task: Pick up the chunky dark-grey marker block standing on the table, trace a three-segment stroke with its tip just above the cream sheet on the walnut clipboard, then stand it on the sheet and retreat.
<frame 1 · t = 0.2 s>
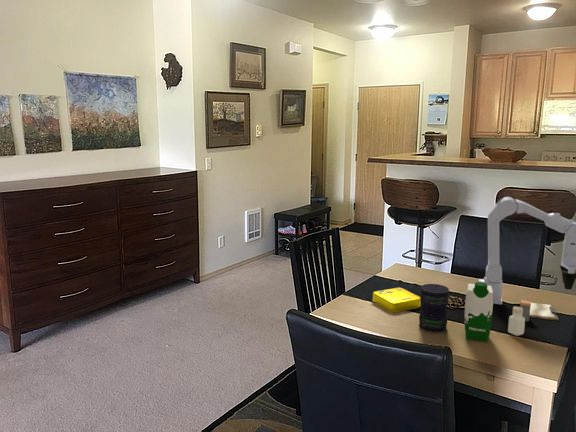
hand: (567, 286, 188), 10 cm above the table, fingers open, 7 cm apart
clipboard: (538, 311, 189), on the table
milk carton: (476, 337, 166), on the table
salt shaker: (515, 333, 169), on the table
storage jar: (432, 327, 174), on the table
marker: (524, 319, 181), on the table
element tile: (396, 305, 197), on the table
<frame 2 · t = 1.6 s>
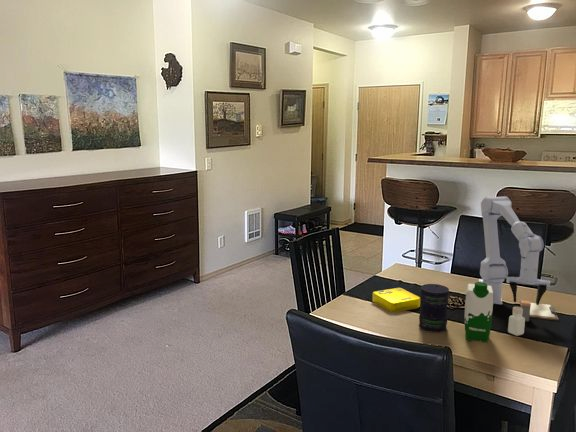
hand: (525, 302, 180), 7 cm above the table, fingers open, 7 cm apart
nothing on the table moved.
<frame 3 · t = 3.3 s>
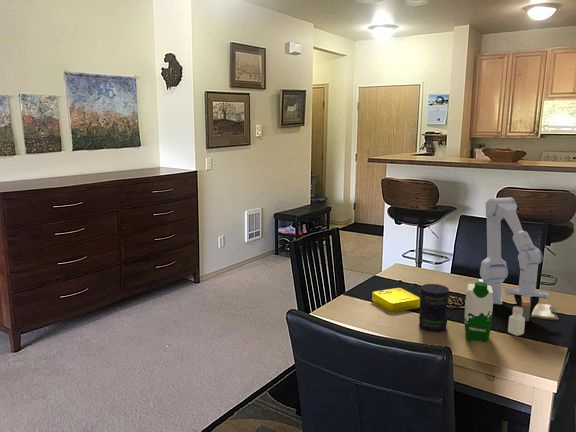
hand: (524, 314, 181), 2 cm above the table, fingers closed on marker, 3 cm apart
marker: (524, 319, 181), on the table, touching gripper
everything else where it was.
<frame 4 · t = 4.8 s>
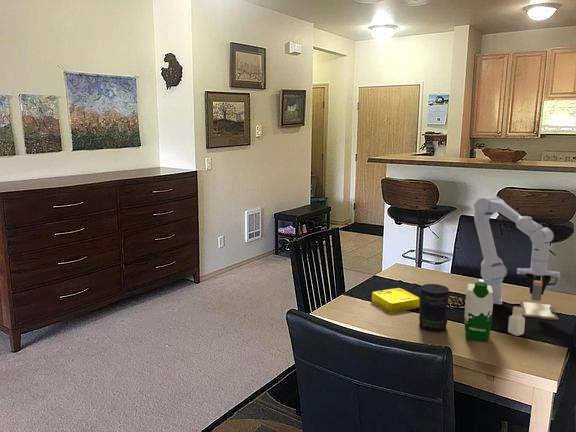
hand: (536, 293, 184), 9 cm above the table, fingers closed on marker, 3 cm apart
marker: (535, 299, 184), point 7 cm above the table, touching gripper
everything else where it was.
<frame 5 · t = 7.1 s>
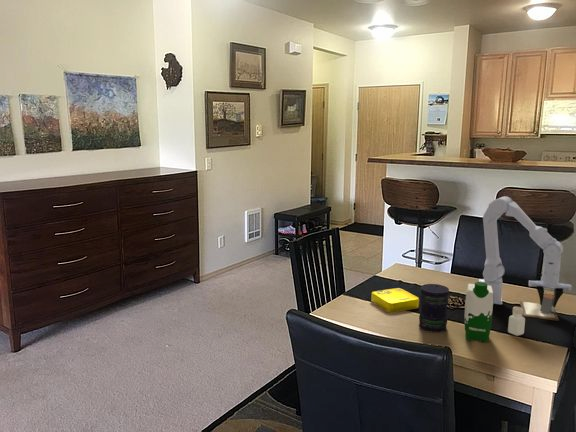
hand: (547, 305, 187), 3 cm above the table, fingers closed on marker, 4 cm apart
marker: (545, 311, 186), point 1 cm above the table, tilted 7°, touching gripper
everything else where it was.
when the fingers open (3 cm above the table, at t = 9.1 s): marker stays where it is, resting on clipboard.
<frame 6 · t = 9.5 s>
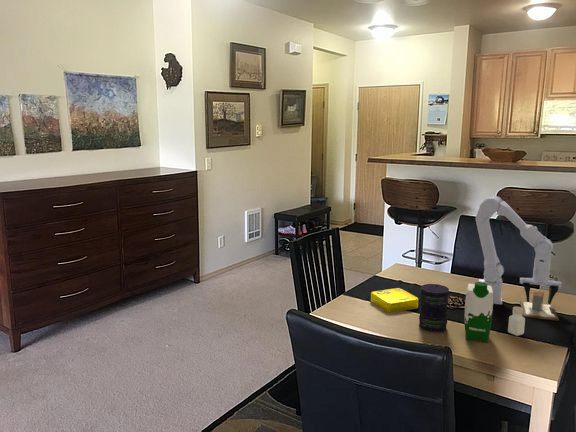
hand: (538, 302, 190), 3 cm above the table, fingers open, 7 cm apart
marker: (536, 309, 189), point 1 cm above the table, touching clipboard
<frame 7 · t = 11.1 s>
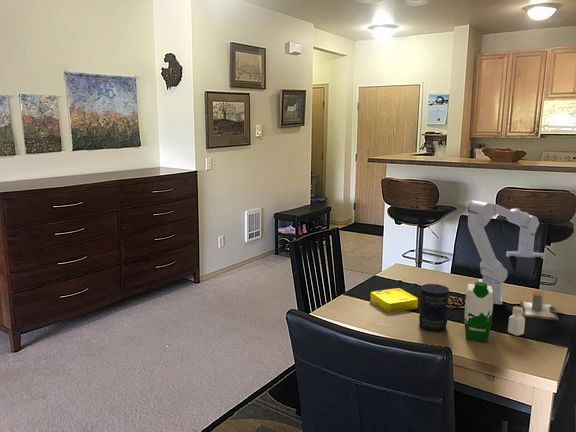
hand: (523, 273, 203), 10 cm above the table, fingers open, 7 cm apart
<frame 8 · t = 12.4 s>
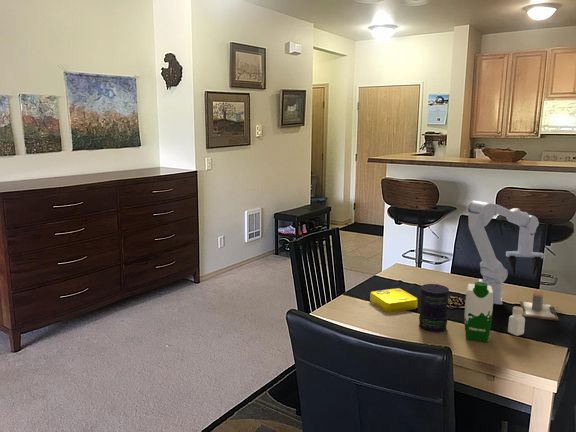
hand: (522, 273, 204), 10 cm above the table, fingers open, 7 cm apart
at the end: marker inside the target area on the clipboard (0.7 cm from its centre), point 0.8 cm above the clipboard's base; marker tilted 0°; the gripper is holding nothing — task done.
